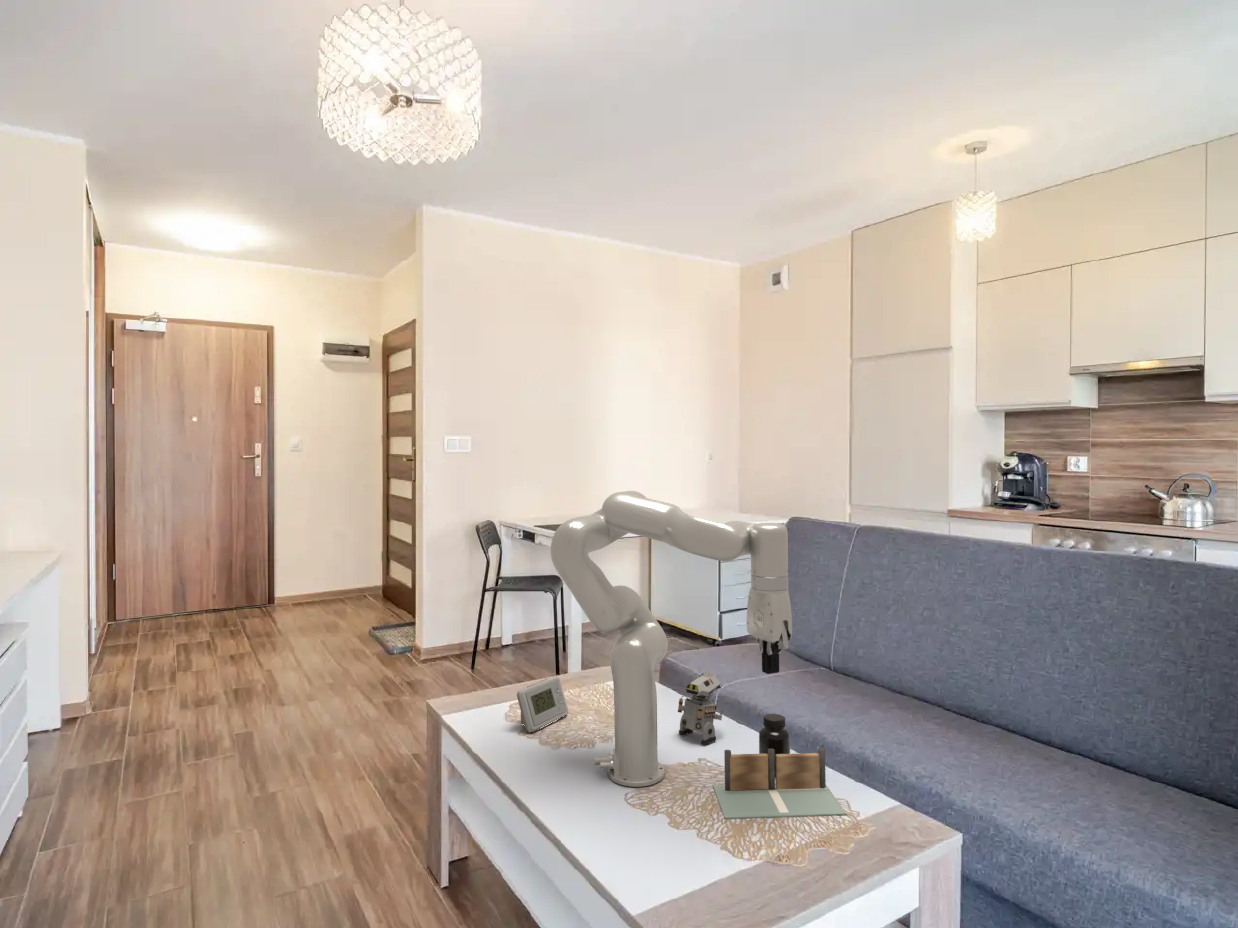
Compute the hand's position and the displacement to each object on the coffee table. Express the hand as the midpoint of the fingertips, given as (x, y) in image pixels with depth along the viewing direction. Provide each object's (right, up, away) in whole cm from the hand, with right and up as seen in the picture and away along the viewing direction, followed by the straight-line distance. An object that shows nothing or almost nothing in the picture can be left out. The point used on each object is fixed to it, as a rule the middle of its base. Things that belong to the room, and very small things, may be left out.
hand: (770, 671), depth 142 cm
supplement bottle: (+4, -26, +12) cm, 29 cm away
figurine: (-10, -26, +32) cm, 42 cm away
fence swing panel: (-4, -25, +3) cm, 26 cm away
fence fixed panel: (+7, -26, +4) cm, 27 cm away
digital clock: (-51, -27, +42) cm, 72 cm away
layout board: (+1, -26, -1) cm, 26 cm away
